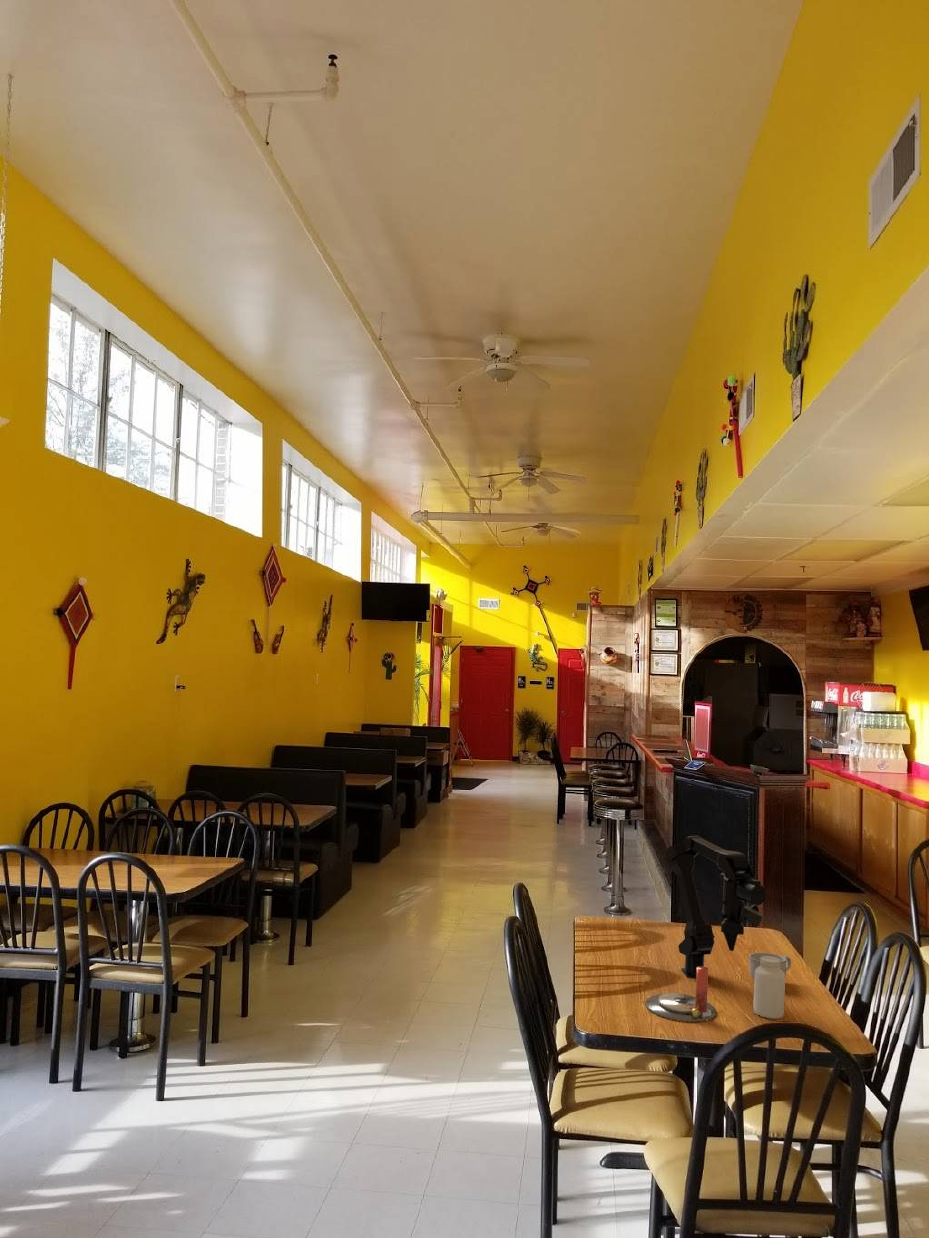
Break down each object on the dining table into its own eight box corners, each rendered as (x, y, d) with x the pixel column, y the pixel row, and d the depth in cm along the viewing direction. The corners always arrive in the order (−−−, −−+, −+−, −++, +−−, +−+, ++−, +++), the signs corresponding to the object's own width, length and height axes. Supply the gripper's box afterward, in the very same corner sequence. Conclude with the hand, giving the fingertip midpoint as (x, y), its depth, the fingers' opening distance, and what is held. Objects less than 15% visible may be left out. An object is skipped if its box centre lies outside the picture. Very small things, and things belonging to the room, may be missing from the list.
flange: (649, 1002, 250) (650, 957, 251) (678, 994, 257) (679, 951, 258) (691, 1020, 238) (693, 973, 238) (721, 1012, 245) (722, 966, 245)
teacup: (759, 989, 267) (760, 962, 267) (741, 977, 277) (742, 950, 278) (802, 988, 269) (803, 961, 270) (782, 976, 280) (783, 950, 280)
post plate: (637, 995, 257) (638, 984, 258) (703, 996, 258) (703, 985, 259) (655, 1021, 238) (656, 1009, 239) (726, 1023, 240) (726, 1011, 240)
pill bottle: (772, 1021, 242) (774, 965, 243) (747, 1011, 249) (748, 956, 249) (789, 1016, 247) (791, 960, 248) (764, 1006, 253) (766, 952, 254)
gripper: (763, 907, 254) (761, 963, 253) (761, 892, 271) (759, 945, 271) (721, 902, 257) (720, 958, 256) (722, 888, 275) (721, 940, 274)
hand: (731, 950), depth 264 cm, fingers closed
